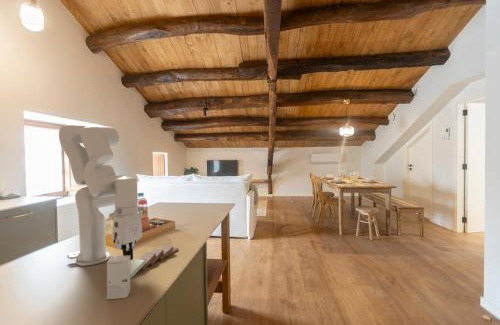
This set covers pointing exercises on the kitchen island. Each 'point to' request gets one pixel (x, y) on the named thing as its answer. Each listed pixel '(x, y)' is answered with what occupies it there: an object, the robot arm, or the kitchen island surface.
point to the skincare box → (118, 277)
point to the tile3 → (165, 251)
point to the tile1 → (147, 259)
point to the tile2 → (158, 254)
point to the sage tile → (136, 266)
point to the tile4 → (173, 251)
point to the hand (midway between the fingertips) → (128, 259)
